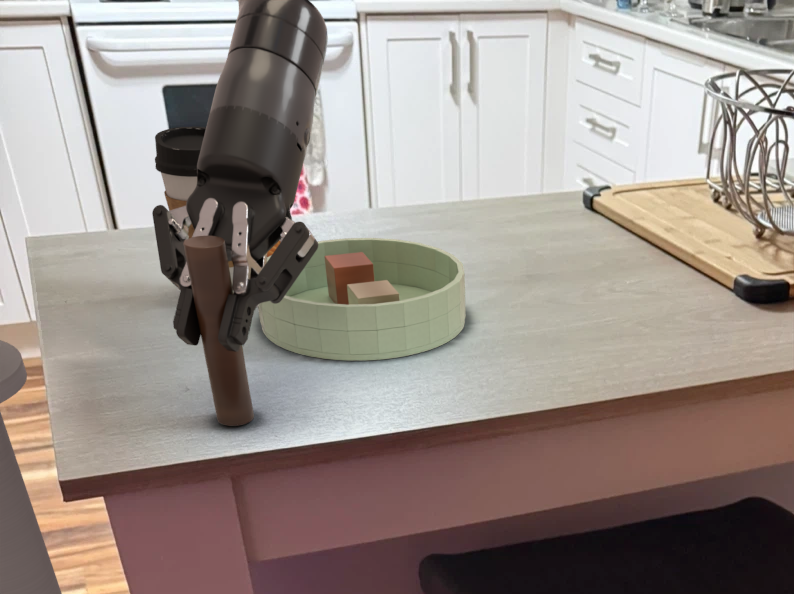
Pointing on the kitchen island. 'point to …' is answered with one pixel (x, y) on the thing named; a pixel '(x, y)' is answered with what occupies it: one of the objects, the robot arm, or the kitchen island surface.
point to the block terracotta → (346, 274)
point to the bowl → (371, 323)
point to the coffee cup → (180, 166)
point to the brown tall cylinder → (210, 302)
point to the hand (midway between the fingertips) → (207, 343)
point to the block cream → (372, 293)
